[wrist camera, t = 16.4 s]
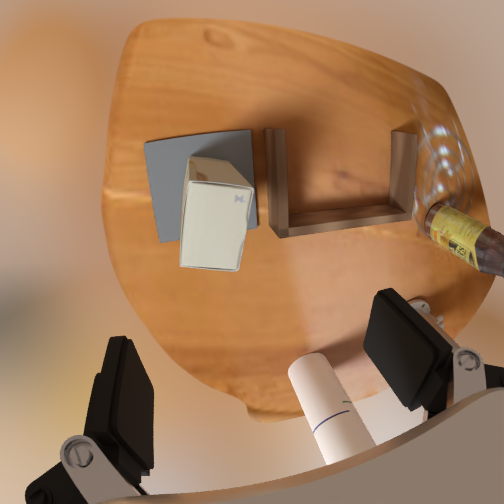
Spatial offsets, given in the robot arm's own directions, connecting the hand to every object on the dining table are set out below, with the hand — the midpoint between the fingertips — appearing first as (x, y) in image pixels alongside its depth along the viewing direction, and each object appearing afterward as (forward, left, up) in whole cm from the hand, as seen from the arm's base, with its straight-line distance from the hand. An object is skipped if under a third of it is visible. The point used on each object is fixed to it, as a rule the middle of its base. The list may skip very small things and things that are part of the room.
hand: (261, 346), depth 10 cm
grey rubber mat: (+1, -1, -23) cm, 23 cm away
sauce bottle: (-34, +7, -23) cm, 42 cm away
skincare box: (+1, -1, -22) cm, 22 cm away
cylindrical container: (-12, +31, -23) cm, 40 cm away
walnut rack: (-15, -1, -23) cm, 27 cm away
